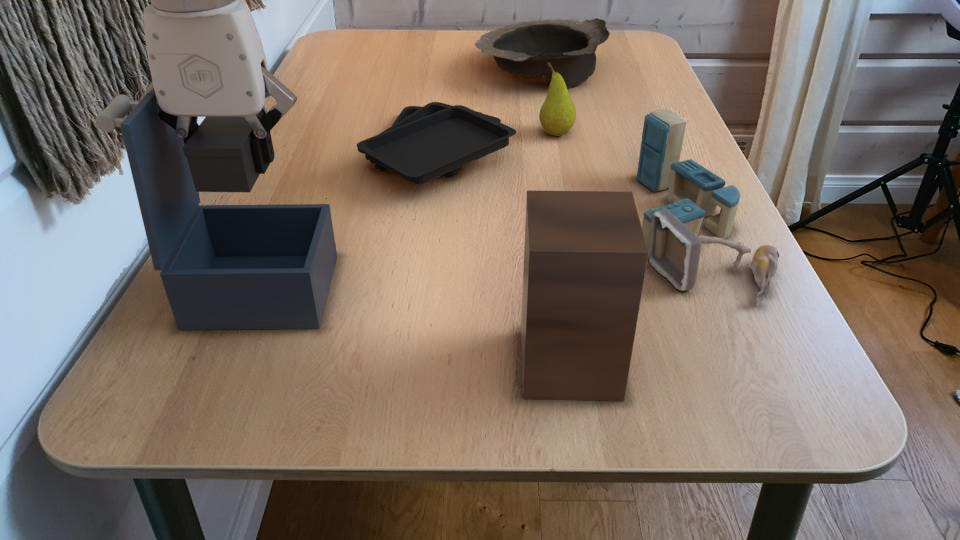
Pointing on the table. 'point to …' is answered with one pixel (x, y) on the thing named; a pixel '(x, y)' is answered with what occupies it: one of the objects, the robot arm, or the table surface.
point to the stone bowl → (547, 48)
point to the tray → (435, 141)
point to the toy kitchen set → (681, 181)
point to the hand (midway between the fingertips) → (234, 165)
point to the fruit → (557, 107)
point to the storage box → (252, 267)
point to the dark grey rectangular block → (222, 155)
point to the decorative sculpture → (686, 254)
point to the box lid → (154, 172)
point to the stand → (580, 293)
